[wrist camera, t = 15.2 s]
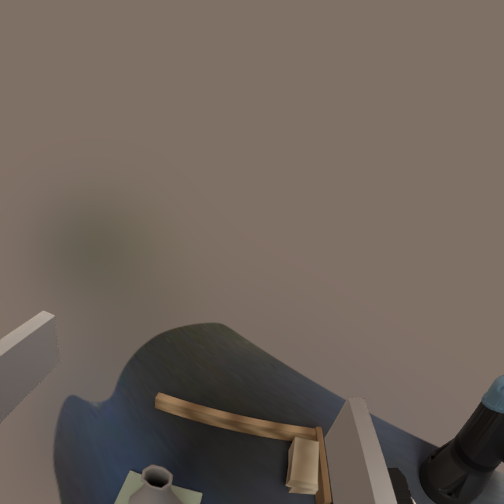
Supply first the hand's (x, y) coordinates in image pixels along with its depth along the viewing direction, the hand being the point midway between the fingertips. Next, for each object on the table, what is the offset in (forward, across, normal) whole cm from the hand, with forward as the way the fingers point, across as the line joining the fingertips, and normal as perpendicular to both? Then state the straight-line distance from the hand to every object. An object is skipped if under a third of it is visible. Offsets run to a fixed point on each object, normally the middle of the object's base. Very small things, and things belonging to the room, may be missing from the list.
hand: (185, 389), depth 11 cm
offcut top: (+18, +16, -29) cm, 38 cm away
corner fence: (+19, +5, -30) cm, 36 cm away
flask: (+6, -3, -30) cm, 30 cm away
